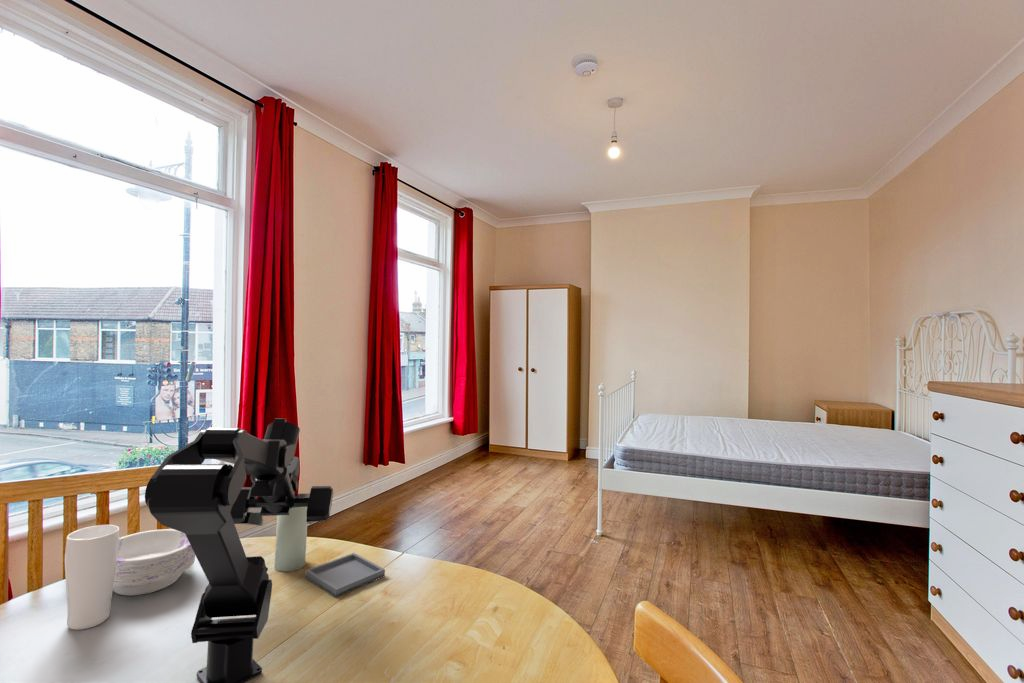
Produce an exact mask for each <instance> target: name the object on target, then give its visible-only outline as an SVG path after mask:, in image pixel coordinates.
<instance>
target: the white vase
mask: <svg viewBox="0 0 1024 683" xmlns="http://www.w3.org/2000/svg"><path fill="white" fill-rule="evenodd" d="M120 538H121V537H120V527H119V526H118V525H114V524H98V525H92V526H91V525H90V526H87V527H82V528H80V529H79V528H78V529H77V530H74V531H72V532H70V533H68V535H66V540H65V549H64V574H65V589H66V590H65V591H66V607H67V608H66V609H67V610H66V611H67V618H66V620H67V621H66V625H67V627H68V629H70V630H73V631H74V630H75V631H81V630H82V631H83V630H87V629H91V628H93V627H96V626H99V625H101V624H102V623H104V622H105V621H106V620H107V619H108V618H109V617H110V615H111V609H112V608H111V605H112V597H113V592H114V591H113V585H114V579H115V572H116V566H117V560H118V553H119V540H120Z"/></svg>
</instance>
